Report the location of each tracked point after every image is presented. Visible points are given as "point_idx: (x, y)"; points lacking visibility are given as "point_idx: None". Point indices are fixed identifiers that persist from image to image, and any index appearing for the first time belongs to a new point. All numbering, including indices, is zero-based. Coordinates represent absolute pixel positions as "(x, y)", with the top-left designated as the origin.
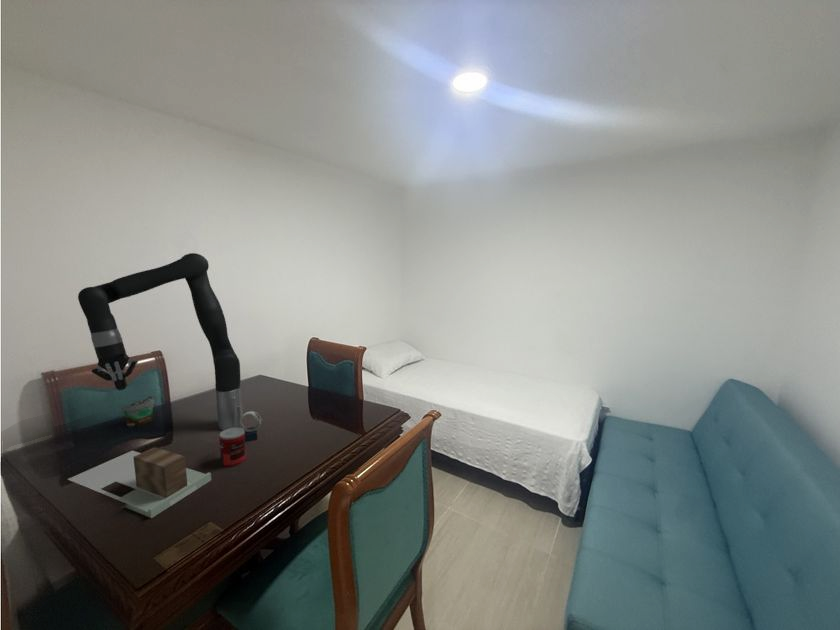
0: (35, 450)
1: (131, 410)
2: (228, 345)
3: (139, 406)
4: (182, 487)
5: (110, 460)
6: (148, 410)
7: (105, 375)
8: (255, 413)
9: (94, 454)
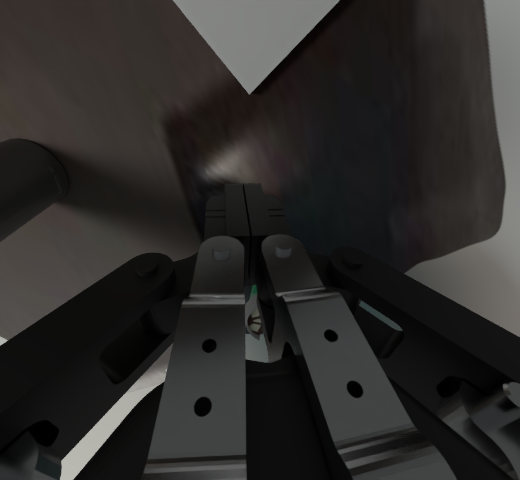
0: (458, 227)
1: None
2: None
3: None
4: None
5: (296, 42)
6: (254, 291)
7: (389, 305)
8: None
9: (345, 144)
